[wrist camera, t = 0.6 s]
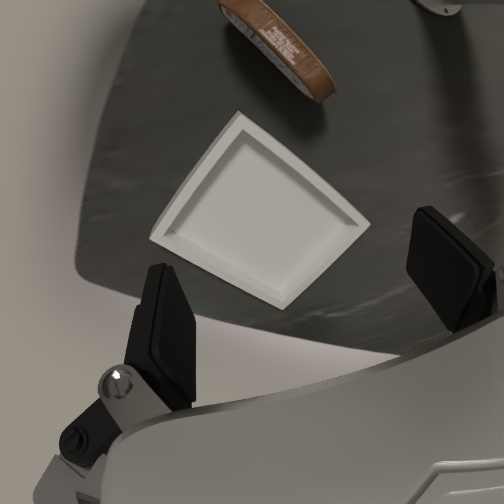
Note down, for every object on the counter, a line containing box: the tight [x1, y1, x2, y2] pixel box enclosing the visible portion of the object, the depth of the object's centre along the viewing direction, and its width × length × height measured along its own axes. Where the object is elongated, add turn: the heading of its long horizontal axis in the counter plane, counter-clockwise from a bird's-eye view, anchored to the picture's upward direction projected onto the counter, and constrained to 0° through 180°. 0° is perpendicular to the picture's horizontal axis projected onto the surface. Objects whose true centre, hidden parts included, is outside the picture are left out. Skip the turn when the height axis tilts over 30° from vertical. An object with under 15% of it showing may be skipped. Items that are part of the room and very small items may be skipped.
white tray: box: [149, 111, 371, 310], centre depth 37 cm, size 18×22×3 cm
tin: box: [218, 0, 337, 103], centre depth 23 cm, size 15×3×8 cm, turn 43°
